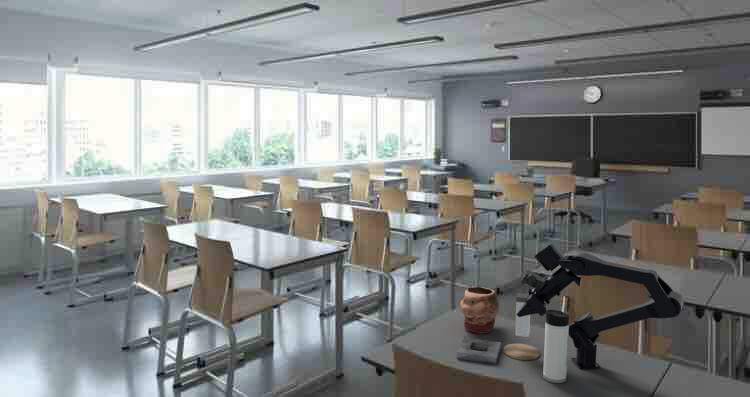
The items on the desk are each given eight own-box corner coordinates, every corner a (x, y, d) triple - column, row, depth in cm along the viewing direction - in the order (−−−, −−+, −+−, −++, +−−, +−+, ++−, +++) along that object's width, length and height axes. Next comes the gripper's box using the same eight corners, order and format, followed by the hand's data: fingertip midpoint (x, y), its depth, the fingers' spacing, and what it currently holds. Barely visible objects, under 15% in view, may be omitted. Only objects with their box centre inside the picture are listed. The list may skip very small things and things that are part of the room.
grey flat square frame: (500, 348, 174) (501, 342, 174) (495, 364, 163) (496, 357, 163) (463, 343, 179) (464, 337, 178) (456, 358, 167) (456, 352, 167)
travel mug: (537, 375, 156) (540, 309, 153) (556, 371, 158) (559, 306, 155) (551, 385, 150) (554, 316, 147) (570, 381, 153) (574, 313, 150)
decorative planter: (477, 315, 204) (478, 279, 202) (508, 322, 196) (509, 285, 194) (451, 332, 188) (452, 293, 186) (483, 340, 181) (484, 300, 178)
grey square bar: (529, 332, 172) (530, 294, 170) (528, 337, 168) (529, 298, 166) (516, 330, 173) (517, 293, 171) (515, 335, 169) (516, 297, 167)
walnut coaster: (544, 359, 166) (545, 357, 166) (509, 360, 166) (509, 358, 165) (532, 344, 177) (532, 342, 177) (499, 345, 176) (499, 343, 176)
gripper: (539, 255, 174) (504, 285, 180) (535, 271, 157) (496, 303, 162) (564, 281, 173) (527, 311, 178) (563, 300, 155) (522, 331, 161)
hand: (518, 313), depth 170 cm, fingers closed on grey square bar, 4 cm apart
